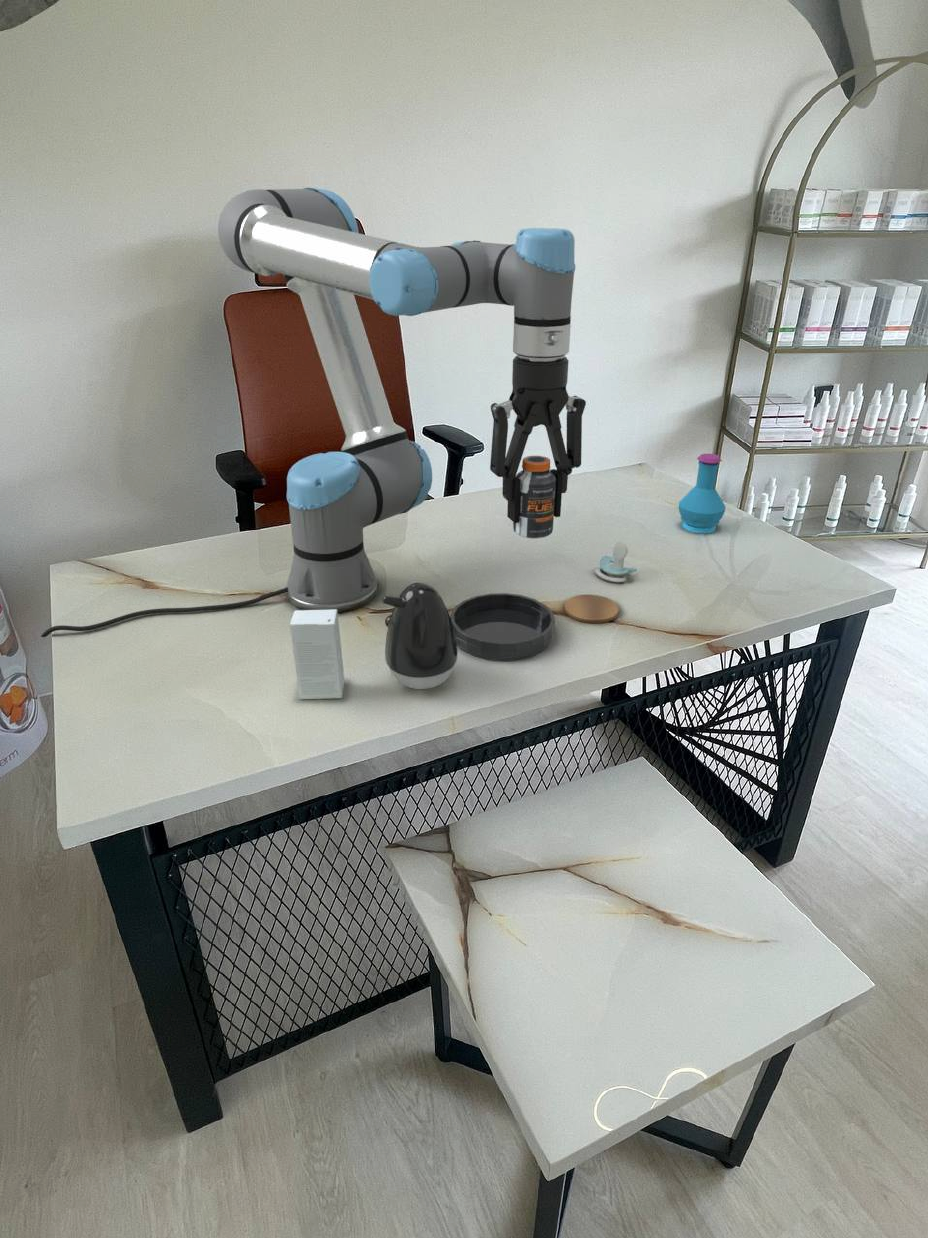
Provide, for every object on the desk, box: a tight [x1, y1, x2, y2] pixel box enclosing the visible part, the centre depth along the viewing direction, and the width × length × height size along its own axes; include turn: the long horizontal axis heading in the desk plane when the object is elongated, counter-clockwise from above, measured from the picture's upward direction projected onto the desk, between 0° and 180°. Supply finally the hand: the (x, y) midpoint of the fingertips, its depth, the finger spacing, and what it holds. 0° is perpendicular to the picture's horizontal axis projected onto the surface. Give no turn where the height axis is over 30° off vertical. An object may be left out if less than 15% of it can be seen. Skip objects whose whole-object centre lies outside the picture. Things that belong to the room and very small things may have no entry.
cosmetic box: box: [289, 609, 345, 700], centre depth 110 cm, size 6×4×12 cm
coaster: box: [563, 594, 620, 624], centre depth 134 cm, size 9×9×1 cm
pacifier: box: [594, 541, 638, 583], centre depth 143 cm, size 7×6×6 cm
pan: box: [449, 592, 556, 662], centre depth 126 cm, size 16×16×3 cm
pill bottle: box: [512, 455, 556, 540], centre depth 118 cm, size 6×6×11 cm
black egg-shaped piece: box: [381, 582, 458, 690], centre depth 112 cm, size 10×10×15 cm
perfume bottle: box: [678, 453, 726, 534], centre depth 161 cm, size 9×9×15 cm
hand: (533, 516), depth 119 cm, fingers closed on pill bottle, 6 cm apart
